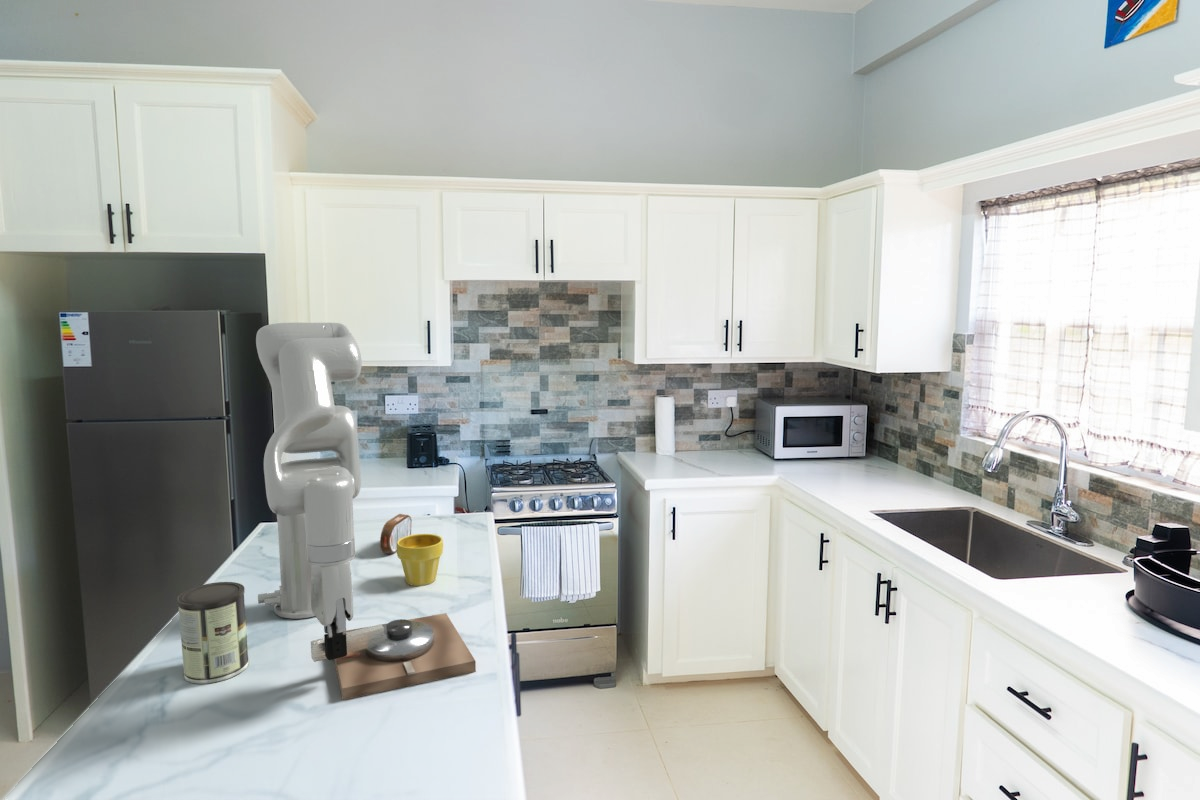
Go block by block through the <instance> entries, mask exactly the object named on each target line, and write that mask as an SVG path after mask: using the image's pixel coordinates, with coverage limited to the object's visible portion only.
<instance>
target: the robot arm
mask: <svg viewBox="0 0 1200 800" xmlns="http://www.w3.org/2000/svg"><path fill="white" fill-rule="evenodd" d="M255 344H256V345H255V346H256V350H257V351H256V352H257V354H258V359H259V361H260V364H261V365H262V369H263V370H264V372H265V374H266V377H267V379H268V380H269V381H268V382H269V384H270V387H271V392H272V393H271V394H272V405H273V420H274V421H273V422H274V432H273V434H272V435H271V436H270V438H269V440H268V442H267V444H266V446H265V450H264V451H265V452H264V455H263V456H264V457H263V474H264V484H265V494H266V500H267V504H268V507H269V509H270V511H272V513H274V514H275V515H276V519H277V521H276V523H277V535H278V536H277V537H278V552H279V553H278V555H279V568H280V570H279V571H280V572H279V573H280V585H279V588H278V590H274V592H270V593H269V592H268V593H267V592H266V593H258V594H257V604H259V605H260V604H264V607H266V606H272V605H274V607H273V610H274V613H275V615H276V616H278V617H280V618H283V619H293V620H294V619H307V618H312V617H315V618H316V620H317V621H318V622H319V623H320V625H322V626H323V631H324V635H323V638H324V641H325V656H326V657H327V659H326V660H327V661H334V659H337V658H341V657H345V656H346V655H347V641H346V631H347V620H348V621H349V622H351V621H352V619H353V618H354V595H353V582H352V572H351V571H352V570H351V563H350V562H351V561H353V560H354V559H355V558H356V549H355V548H356V547H355V526H354V525H355V524H354V521H355V520H354V504H353V502H354V501H353V500H354V499H355V498H357V497H358V496H359V495H360V491H361V486H362V485H361V483H362V482H361V481H362V480H361V479H362V477H361V462H360V448H359V447H360V446H359V434H358V433H359V432H358V426H357V419H356V417H355V415H354V413H353V411H352V410H351V409H350V408H349V407H347V406H344V405H335V399H334V393H333V387H332V382H335V383H336V382H352V381H355V380H357V379H358V378H359V376H360V375H361V372H362V356H361V351H360V348H359V345H358V343H357V341H356V339H355V337H354V336H353V335H352V333H351V332H350V329H348V327H347V325H345V324H343V323H340V322H279V323H276V322H275V323H270V324H267V325H264V326H262V327H260V328H259V329H258V330H257V332H256V337H255ZM320 452H333V453H335V455H336V456H330V457H321V458H320V457H319V458H309V459H308V458H305V459H298V460H297V459H295V460H290V461H286V462H283V463H282V455H283V453H285V454H309V453H320Z"/></svg>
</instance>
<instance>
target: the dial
mask: <svg viewBox="0 0 1200 800" xmlns="http://www.w3.org/2000/svg"><path fill="white" fill-rule="evenodd" d="M409 620H410V619H394V620H391V621H390V622H388V624H387V623H384V625H381V624H382V623H379V624H376V625H372V626H371V625H370V626H371V627H370V626H366V627H367V628H364V627H362V628H363V629H359V628H358V629H359V630H355V631H351V632H346V641H347V653H351V652H355V651H359V650H363V649H365V653H366V654H367V655H368V656H369V657H370V658H372V659H375V660H379V661H388V662H391V661H403V660H408V659H412V658H415V657H418V656H420V655H422V654H424V653H426V652H427V651H429V650H430V649H431V648H432V646H433V644H434V634H433V629H432V627H431V626H429V625H427V624H425V623H422V622H417V621H409ZM310 655H311V660H312V662H313V663H316V662H319V661H323V660H328V659H327V657H326V656H325V641H324V637H322V638H318V639H315V640H311V641H310Z"/></svg>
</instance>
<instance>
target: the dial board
mask: <svg viewBox="0 0 1200 800" xmlns="http://www.w3.org/2000/svg"><path fill="white" fill-rule="evenodd" d="M408 620H409V621H417V622H422V623H425V624H427V625H429V626H431V627H432V629H433V634H434V644H433V646H432V648H431V649H430V650H429V651H427V652H426V653H424V654H422V655H420V656H418V657H415V658H412V659H408V660H403V661H391V662H388V661H379V660H375V659H372V658H370V657H369V656H368V655H367V654H366V653H365V649H363V650H359V651H355V652H351V653H347V655H346V656H345V657H341V658H337V659H333V661H334V666H335V670H336V675H337V680H338V681H337V682H338V685H339V688H340V694H341V698H342V699H341V700H342V701H345V700H350V699H355V698H359V697H363V696H364V697H365V696H369V695H373V694H378V693H381V692H386V691H391V690H396V689H401V688H406V687H411V686H415V685H420V684H424V683H430V682H433V681H439V680H443V679H446V678H447V679H448V678H452V677H457V676H460V675H461V676H463V675H466V674H470V673H476V672H477V671H476V670H477V667H476V664H477V663H476V659H475V658H474V656H473V655H472V653H471V652H470V650H469V648H468V646H467V645H466V643H465V642H464V640H463V638H462V636H461V635H460V633H459V632H458V630H457V629H456V627H455V626H454V624H453V622H452V621H451V619H450V618H449V616H448V614H447V613H446V612H444V613H439V614H434V615H427V616H422V617H417V618H416V617H415V618H410V619H408ZM388 623H389V622H388ZM388 623H386V624H388ZM380 624H381V625H384V624H385V623H384V624H382V623H380ZM367 627H368V626H366V627H360V628H359V627H358V628H353V629H348V630H347V629H346V632H351V631H355V630H359V629H363V628H367ZM369 627H371V625H370V626H369Z"/></svg>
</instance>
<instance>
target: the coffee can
mask: <svg viewBox="0 0 1200 800" xmlns="http://www.w3.org/2000/svg"><path fill="white" fill-rule="evenodd" d="M176 602H177V605H178V615H179V616H178V617H179V627H180V640H181V642H180V643H181V653H182V654H181V655H182V664H183V678H184V680H185V681H187V682H188V683H193V684H198V685H199V684H201V685H202V684H203V685H205V684H213V683H218V682H219V683H220V682H222V681H226V680H228V679H231V678H233V677H236V676H238V675H240V674H241V673H242V672H244V671H245V670H246V669H247V668H248V666H249V665H250V659H249V650H248V648H249V647H248V636H247V624H246V620H247V619H246V605H245V586H244V585H243V584H242V583H238V582H235V581H234V582H233V581H219V582H217V581H216V582H210V583H205V584H200V585H197V586H194V587H191V588H188V589H187V590H185V591H183V592H181V593H180V594H179V595H178V596H177V599H176Z"/></svg>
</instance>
